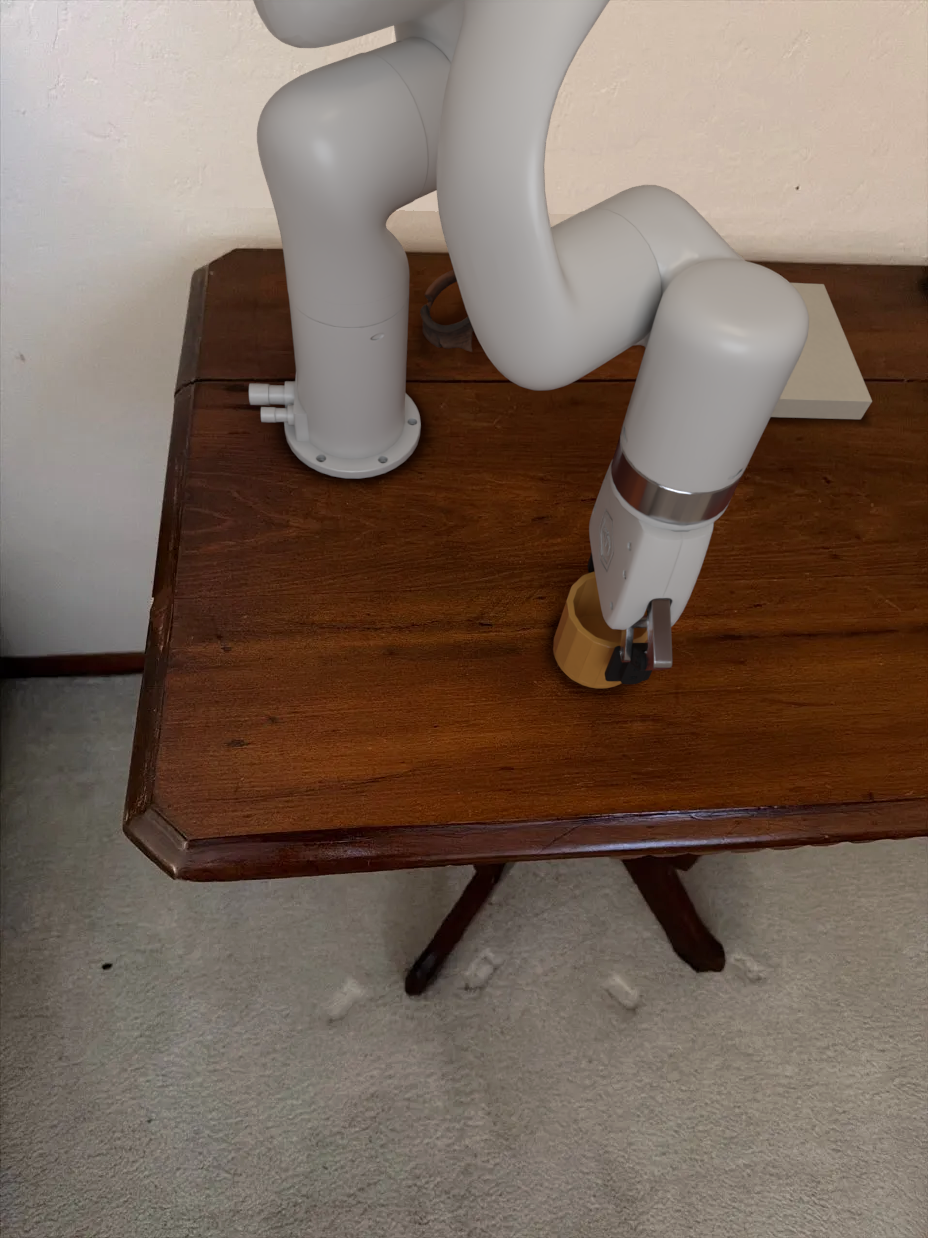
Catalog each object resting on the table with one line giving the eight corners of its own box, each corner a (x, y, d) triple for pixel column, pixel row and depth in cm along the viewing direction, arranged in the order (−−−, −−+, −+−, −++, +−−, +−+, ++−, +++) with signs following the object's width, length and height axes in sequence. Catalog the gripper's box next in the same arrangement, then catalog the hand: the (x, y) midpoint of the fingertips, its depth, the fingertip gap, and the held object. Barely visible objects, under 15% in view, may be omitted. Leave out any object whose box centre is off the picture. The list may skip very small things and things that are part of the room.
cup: (557, 689, 70) (573, 647, 64) (548, 614, 73) (562, 569, 68) (643, 688, 70) (666, 647, 65) (630, 614, 74) (651, 569, 69)
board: (668, 414, 87) (676, 395, 85) (640, 295, 97) (646, 276, 95) (860, 419, 89) (872, 401, 87) (814, 302, 99) (823, 283, 97)
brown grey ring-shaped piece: (524, 377, 89) (494, 328, 82) (439, 391, 93) (404, 345, 86) (532, 278, 93) (504, 223, 85) (450, 295, 96) (417, 244, 89)
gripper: (595, 368, 57) (554, 533, 72) (637, 584, 48) (581, 725, 62) (707, 370, 58) (645, 533, 72) (770, 584, 49) (684, 723, 63)
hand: (615, 622), depth 67 cm, fingers open, 9 cm apart
